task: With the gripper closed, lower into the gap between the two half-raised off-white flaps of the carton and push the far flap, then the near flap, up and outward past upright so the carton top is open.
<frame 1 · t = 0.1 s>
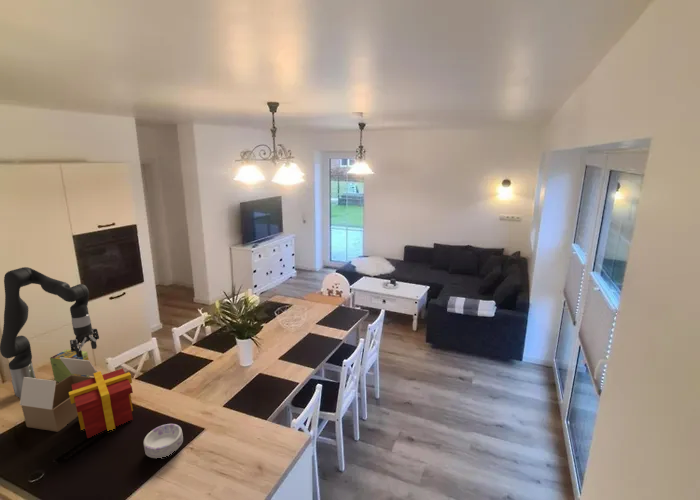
hand: (87, 352, 187), 29 cm above the kitchen island, tool pointing down, fingers open, 8 cm apart
protein box: (73, 378, 216), on the kitchen island
near flap: (37, 393, 172), point 19 cm above the kitchen island, hinge at 70.0°
gift box: (107, 419, 182), on the kitchen island
far flap: (80, 367, 193), point 19 cm above the kitchen island, hinge at 70.0°
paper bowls: (165, 450, 162), on the kitchen island
carton: (67, 411, 187), on the kitchen island
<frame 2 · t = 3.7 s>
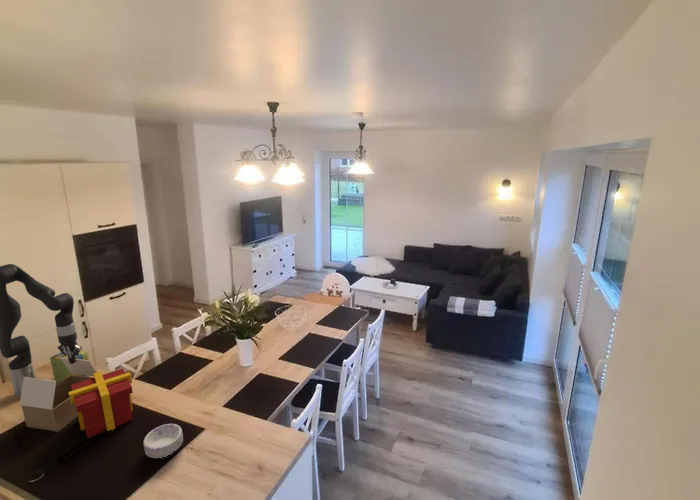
hand: (72, 362, 189), 23 cm above the kitchen island, tool pointing down, fingers closed
far flap: (80, 367, 193), point 19 cm above the kitchen island, hinge at 70.4°, touching gripper
everything else where it was.
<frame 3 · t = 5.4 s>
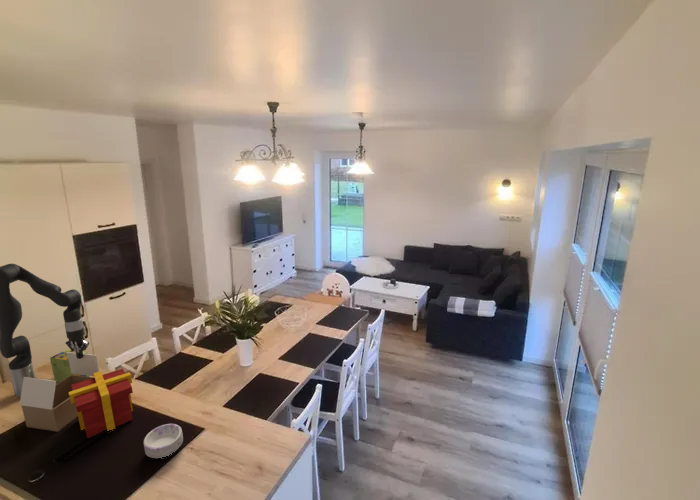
hand: (80, 358, 193), 24 cm above the kitchen island, tool pointing down, fingers closed
far flap: (83, 364, 195), point 19 cm above the kitchen island, hinge at 89.4°, touching gripper
everything else where it was.
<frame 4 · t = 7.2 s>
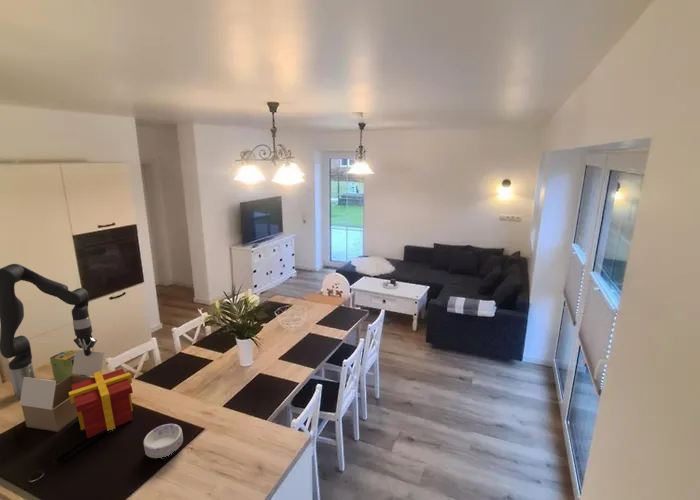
hand: (87, 355, 197), 23 cm above the kitchen island, tool pointing down, fingers closed
far flap: (88, 362, 198), point 18 cm above the kitchen island, hinge at 112.2°, touching gripper
everything else where it was.
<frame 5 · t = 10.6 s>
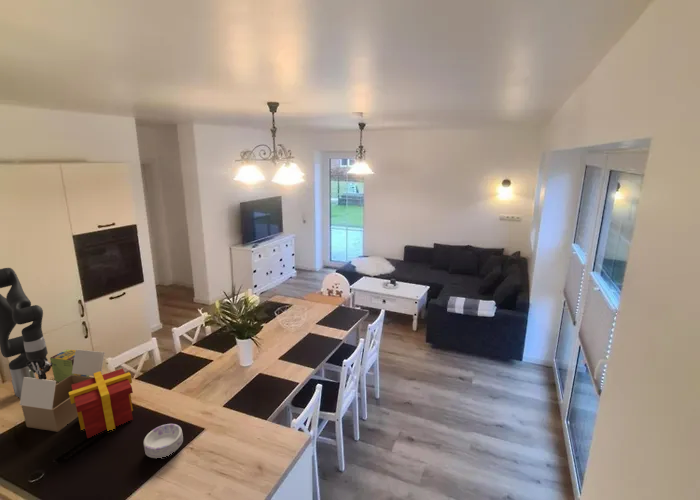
hand: (43, 380, 174), 23 cm above the kitchen island, tool pointing down, fingers closed
near flap: (37, 393, 172), point 19 cm above the kitchen island, hinge at 70.1°, touching gripper
far flap: (88, 362, 198), point 18 cm above the kitchen island, hinge at 112.3°
everything else where it was.
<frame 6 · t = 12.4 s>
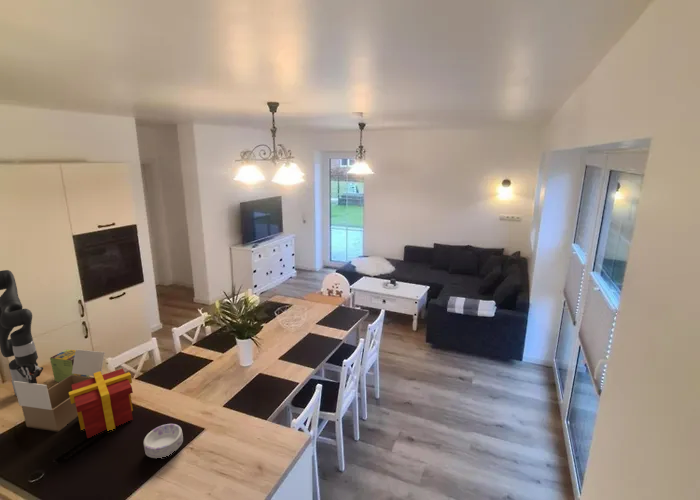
hand: (33, 385, 170), 24 cm above the kitchen island, tool pointing down, fingers closed
near flap: (32, 395, 170), point 19 cm above the kitchen island, hinge at 89.7°, touching gripper
everything else where it was.
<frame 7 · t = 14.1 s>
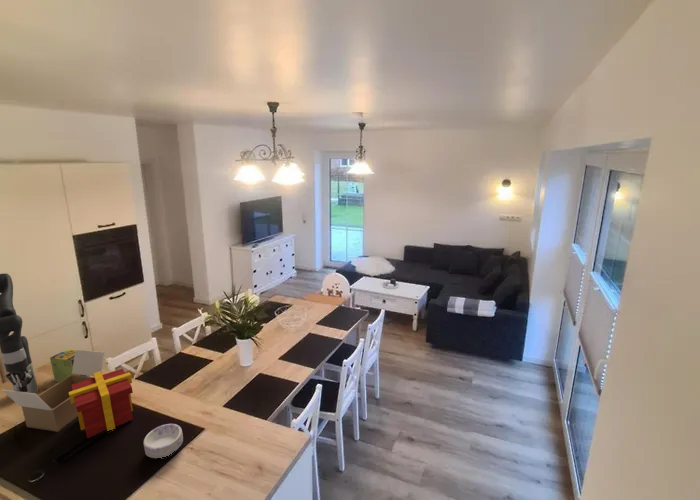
hand: (24, 392, 166), 23 cm above the kitchen island, tool pointing down, fingers closed
near flap: (27, 399, 167), point 18 cm above the kitchen island, hinge at 112.4°, touching gripper
everything else where it was.
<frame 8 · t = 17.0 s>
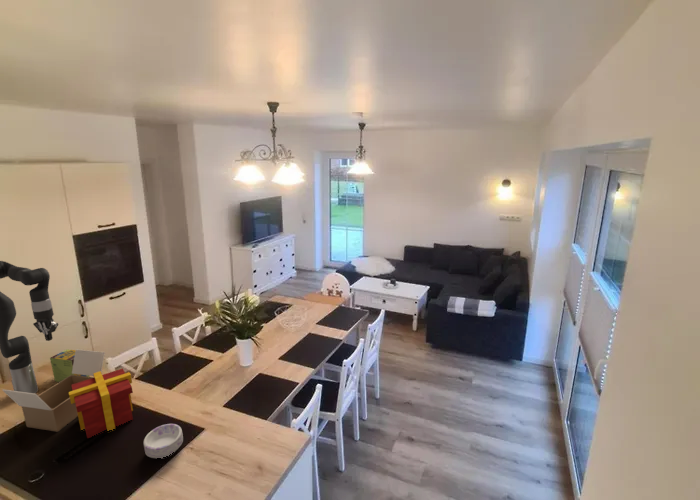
hand: (49, 340, 184), 37 cm above the kitchen island, tool pointing down, fingers closed
near flap: (27, 400, 167), point 18 cm above the kitchen island, hinge at 112.5°
everything else where it was.
at the end: far flap at +112° (first picture: +70°); near flap at +112° (first picture: +70°) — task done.
